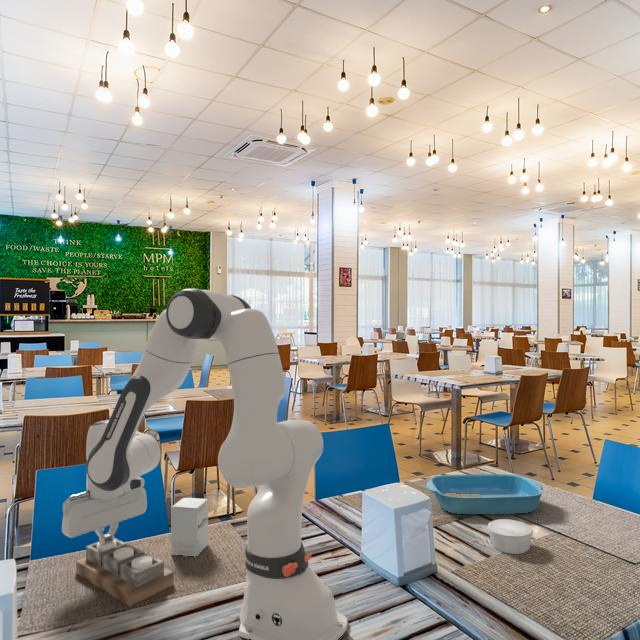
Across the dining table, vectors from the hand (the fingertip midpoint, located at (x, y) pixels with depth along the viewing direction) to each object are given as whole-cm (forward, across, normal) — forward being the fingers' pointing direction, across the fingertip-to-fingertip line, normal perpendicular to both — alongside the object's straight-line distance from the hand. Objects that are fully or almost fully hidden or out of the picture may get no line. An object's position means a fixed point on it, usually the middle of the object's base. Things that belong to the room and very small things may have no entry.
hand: (106, 542), depth 124 cm
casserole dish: (+7, +98, -57) cm, 113 cm away
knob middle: (+4, 0, -8) cm, 8 cm away
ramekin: (+7, +72, -74) cm, 103 cm away
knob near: (+4, 0, -15) cm, 15 cm away
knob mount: (+6, 0, -8) cm, 10 cm away
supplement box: (+7, +19, -8) cm, 22 cm away
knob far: (+4, 0, 0) cm, 4 cm away
